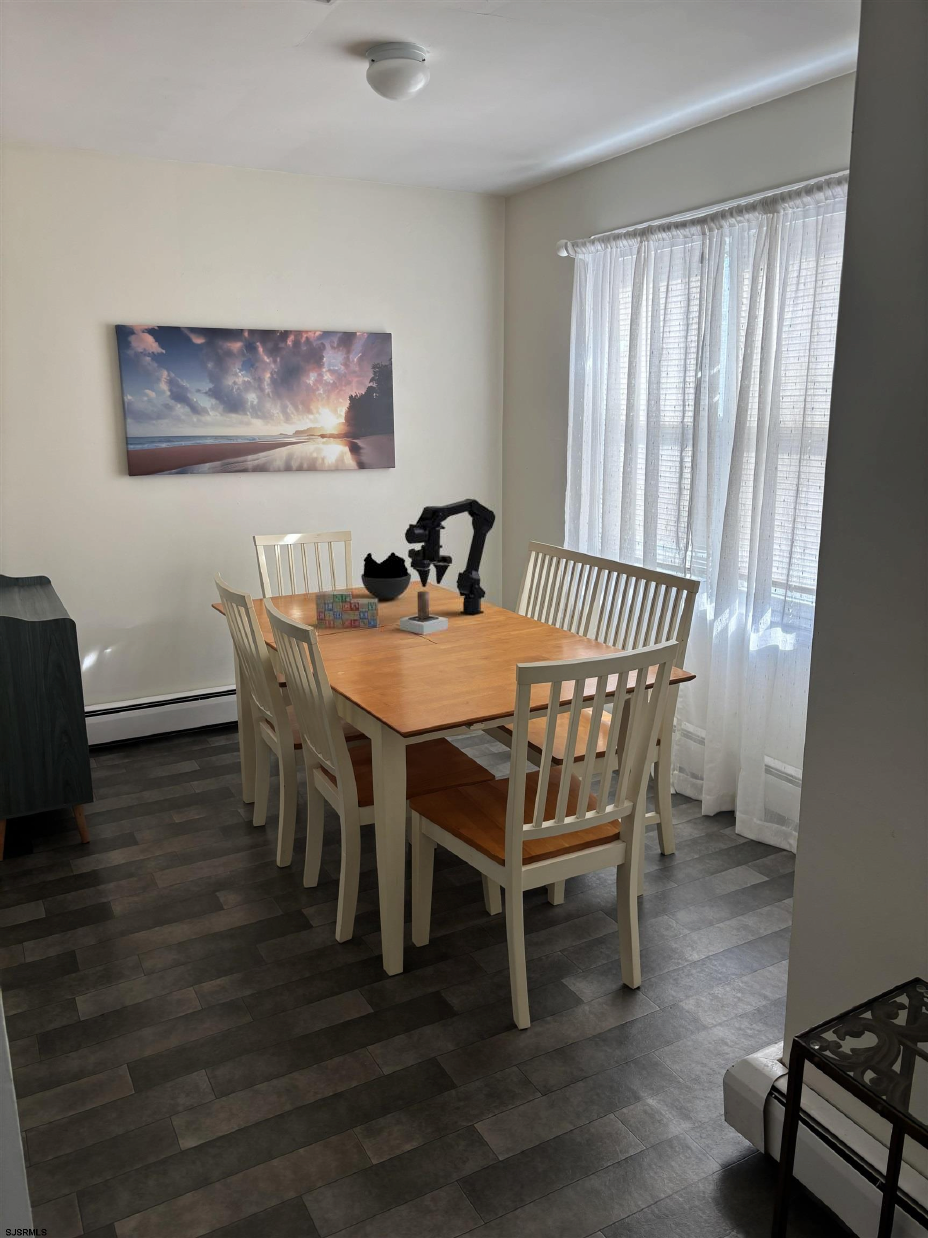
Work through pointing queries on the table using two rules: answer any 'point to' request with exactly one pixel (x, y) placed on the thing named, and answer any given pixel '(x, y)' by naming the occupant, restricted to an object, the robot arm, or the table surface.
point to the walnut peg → (423, 605)
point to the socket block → (423, 624)
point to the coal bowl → (385, 576)
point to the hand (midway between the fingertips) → (431, 585)
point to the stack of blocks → (345, 610)
